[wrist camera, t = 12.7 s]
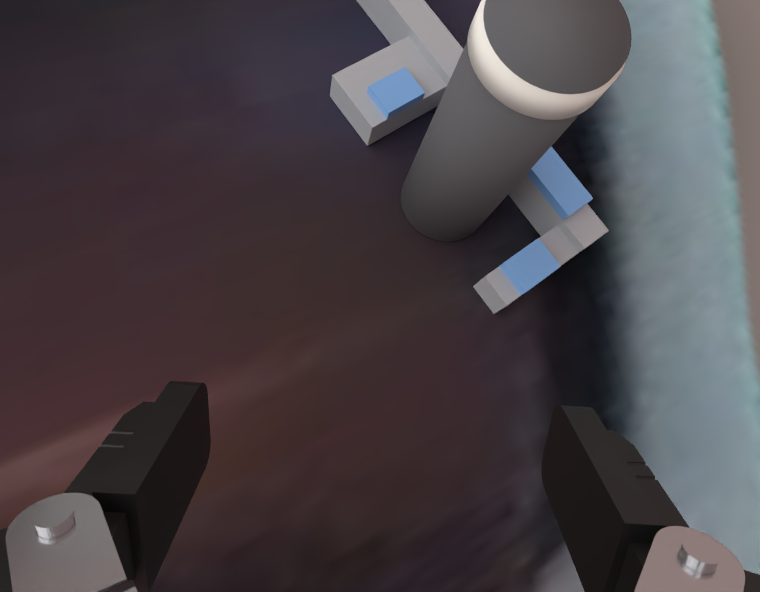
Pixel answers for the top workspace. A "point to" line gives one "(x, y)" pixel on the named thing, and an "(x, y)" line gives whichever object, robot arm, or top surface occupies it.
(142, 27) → the top surface
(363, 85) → the grey blue frame
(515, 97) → the grey cylinder post
